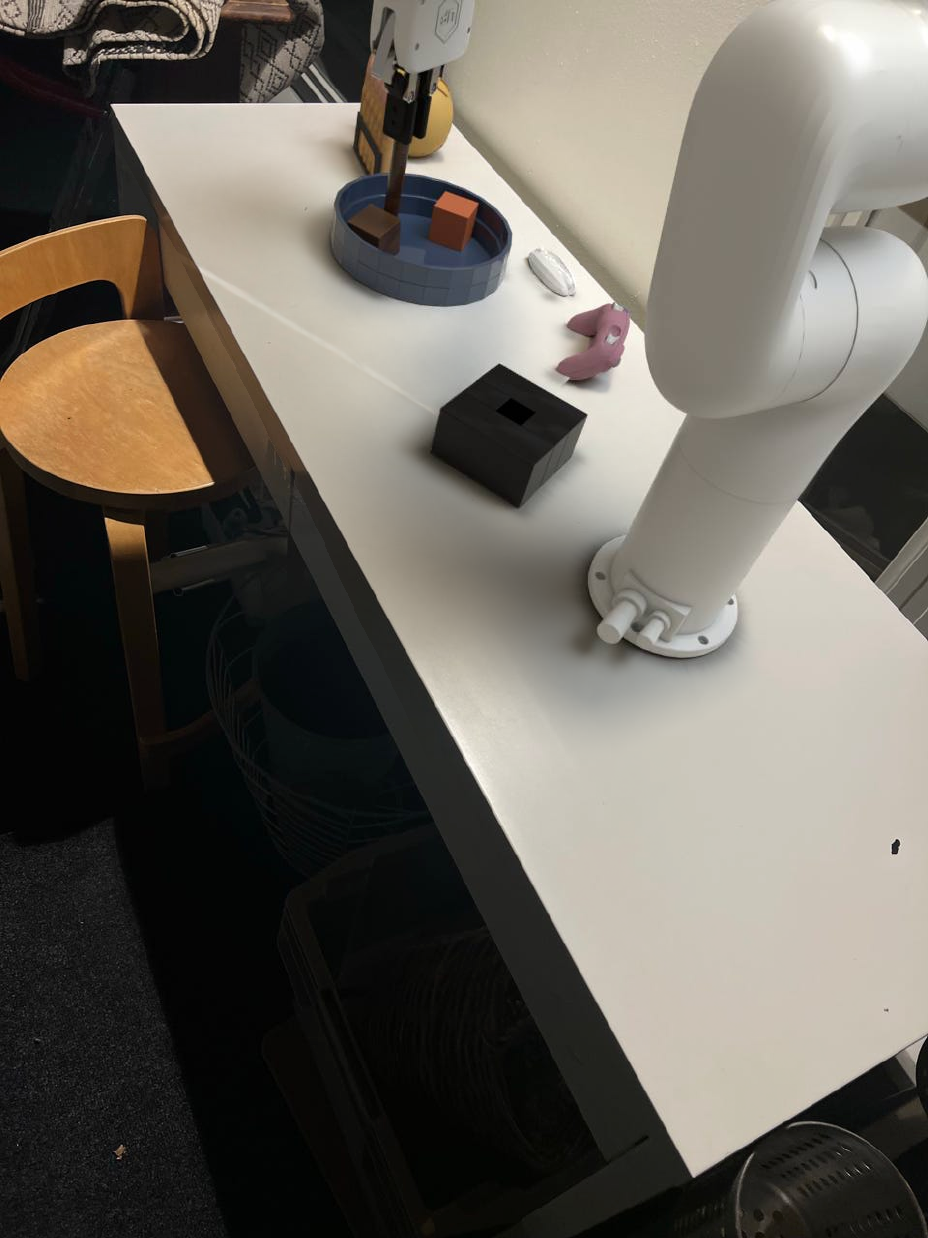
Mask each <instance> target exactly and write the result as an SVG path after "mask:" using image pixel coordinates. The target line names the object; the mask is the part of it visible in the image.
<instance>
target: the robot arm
mask: <svg viewBox="0 0 928 1238" xmlns="http://www.w3.org/2000/svg"><path fill="white" fill-rule="evenodd" d="M475 2H476V0H373V5H372V12H371V13H372V14H371V23H370V36H369V44H370V46H369V47H370V51H371V53H373V55H375V58H374V61H373V65H372V68H371V76H372V77H374V78H376V79H378V80H380V81H382V82H384V90H385V91H386V92H387V98H386V105H385V113H384V121H383V129H382V130H383V133H384V134H385V135H386V136H388V137H390V138H392V139H394V140H396V141H398V142H400V143H402V144H404V145H409V144H411V142H412V136H414V137H416V138H418V139H423V138H425V136H426V131H427V125H428V119H429V113H430V107H431V100H432V96H430V95H429V94H431V95H433V94H434V93H435V91H436V89H437V84H438V79H439V78H440V75H441V72H442V71H443V69H444V68H445V66H446V65H447V64H449V63H451V62H454V61H456V60H458V59H460V58H462V57H463V56H464V55H465V53H466V52H467V50H468V47H469V42H470V37H471V30H472V25H473V18H474V11H475V4H476V3H475ZM398 69H400V70H402V71H404V72H406V75H405V78H404V76H403V74H402V73H400V72H398ZM418 74H419V75H420V77H421V79H420V85H419V91H418V97H417V102H416V101H414V100H413V99H414V96H415V90H416V82H417V75H418ZM687 115H688V116H687V119H686V124H685V127H684V130H683V135H682V139H681V143H680V147H679V152H678V155H677V156H678V157H677V161H676V166H675V170H674V171H675V172H674V174H673V179H672V184H671V188H670V193H669V196H668V197H669V198H668V202H667V207H666V211H665V216H664V220H663V225H662V229H661V234H660V239H659V243H658V246H657V251H656V256H655V262H654V266H653V270H652V271H653V272H652V276H651V281H650V285H649V290H648V296H647V301H646V307H645V315H644V316H645V317H644V327H643V328H644V329H643V330H644V331H643V339H644V340H643V341H644V351H645V358H646V363H647V367H648V371H649V374H650V376H651V379H652V381H653V383H654V385H655V387H656V389H657V390H658V392H659V393H660V395H661V396H662V397H663V399H664V400H665V401H666V402H667V403H668V404H670V405H671V406H672V407H673V408H675V409H676V410H678V411H680V412H681V413H683V414H686V415H685V417H684V419H683V421H682V423H681V425H680V426H679V428H678V430H677V432H676V434H675V437H674V439H673V441H672V442H671V444H670V446H669V449H668V451H666V455H665V456H664V459H663V461H662V462H661V465H660V466H659V468H658V471H657V473H656V475H655V477H654V479H653V481H652V483H651V485H650V487H649V489H648V491H647V492H646V495H645V496H644V498H643V500H642V503H641V505H640V507H639V509H638V511H637V513H636V515H635V516H634V518H633V521H632V523H631V525H630V526H629V529H628V531H627V532H626V534H622V535H619V536H617V537H615V538H612V539H610V540H609V541H607V542H606V543H604V544H603V545H602V546H601V547H600V548H599V549H598V551H597V552H596V553H595V555H594V557H593V559H592V561H591V563H590V566H589V569H588V573H587V587H588V592H589V596H590V598H591V601H592V603H593V605H594V607H595V609H596V610H597V612H598V614H599V615H600V616H601V618H602V620H601V621H600V623H598V626H597V628H596V633H597V635H598V637H599V638H600V639H601V641H603V642H604V643H607V644H610V645H615V644H618V642H620V641H621V639H622V638H623V639H625V640H626V641H628V642H630V643H631V644H633V645H635V646H637V647H639V648H640V649H642V650H644V651H648V652H651V653H652V654H653V653H654V654H657V655H662V656H665V657H670V658H680V659H682V658H684V659H685V658H696V657H700V656H704V655H707V654H709V653H711V652H713V651H715V650H717V649H719V648H720V647H721V646H722V645H723V644H724V643H725V642H726V641H727V639H729V638H730V637H729V636H730V635H731V634H732V633H733V631H734V628H735V626H736V624H737V623H738V615H739V608H738V607H739V606H738V600H737V597H736V591H737V590H738V588H739V587H740V586H741V584H742V582H743V581H744V580H745V579H746V576H747V575H748V573H749V572H750V571H751V569H752V568H753V566H754V565H755V564H756V562H757V560H758V559H759V558H760V556H761V554H762V553H763V552H764V550H765V549H766V547H767V546H768V544H769V543H770V541H771V540H772V538H773V537H774V535H775V534H776V532H777V530H778V529H779V528H780V526H781V525H782V523H783V522H784V521H785V519H786V518H787V516H788V515H789V513H790V511H791V510H792V509H793V507H794V506H795V504H796V503H797V502H798V500H799V498H800V497H801V495H802V494H803V493H804V491H805V490H806V489H807V487H808V486H809V484H810V483H811V482H812V480H813V478H814V477H815V476H816V474H817V473H818V471H819V469H820V468H821V467H822V465H823V464H824V463H825V461H826V460H827V458H828V457H829V456H830V454H831V453H832V452H833V450H834V449H835V448H836V446H837V445H838V443H839V442H840V441H841V440H842V439H843V438H844V436H845V435H846V434H847V432H848V431H849V430H850V429H851V428H852V427H853V426H854V424H855V423H856V422H857V421H858V420H859V419H860V418H861V417H862V416H863V414H864V413H865V412H866V411H868V409H869V408H870V407H871V405H873V404H874V403H875V401H877V399H878V398H879V397H880V396H881V395H882V394H883V393H884V392H885V390H887V389H888V387H889V386H890V385H891V384H892V383H893V382H894V380H896V378H897V377H898V375H900V373H901V372H902V371H903V370H904V368H905V366H906V365H907V363H908V362H909V360H910V359H911V358H912V356H913V355H914V353H915V351H916V349H917V347H918V345H919V343H920V341H921V339H922V337H923V335H924V332H925V329H926V325H927V322H928V274H927V272H926V269H925V267H924V264H923V263H922V261H921V259H920V257H919V256H918V255H917V254H916V252H915V251H914V250H913V248H912V247H910V245H908V244H907V243H906V242H905V241H904V240H902V239H900V238H899V237H897V236H896V235H894V234H892V233H889V232H887V231H885V230H882V229H878V228H874V227H868V226H862V225H833V226H831V225H830V226H826V222H827V220H828V217H829V216H830V215H839V214H848V213H849V214H850V213H858V212H867V211H875V210H876V211H877V210H882V209H884V210H885V209H889V208H895V207H901V206H904V205H907V204H911V203H915V202H919V201H921V200H924V199H926V198H928V0H774V1H771V2H770V3H768V4H765V5H763V6H762V7H760V8H758V9H757V10H755V11H754V12H752V13H751V14H749V15H748V16H746V18H745V19H744V20H742V21H741V22H740V23H739V24H738V25H737V26H736V27H735V28H734V29H733V30H732V31H731V32H730V33H729V35H728V36H727V37H726V39H724V41H723V42H722V43H721V45H720V46H719V48H717V51H716V52H715V54H713V57H712V58H711V61H710V62H709V64H708V65H707V68H706V70H705V71H704V73H703V75H702V77H701V78H700V81H699V84H698V86H697V89H696V91H695V93H694V96H693V98H692V102H691V105H690V109H689V111H688V114H687Z"/></svg>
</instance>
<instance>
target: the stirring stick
mask: <svg viewBox="0 0 928 1238" xmlns="http://www.w3.org/2000/svg"><path fill="white" fill-rule="evenodd" d="M405 75H406V72H405V73H404V78H405ZM420 79H421V77H420V75H419V74H418V75H417V82H416V90H415V96H414V99H413V100H414V101H416V102H417V97H418V91H419V85H420ZM409 146H410V144H409V145H404V144H402V143H400V142H398V141H396V140H394V143H393V150H392V156H391V163H390V170H389V176H388V183H387V190H386V196H385V203H384V211H386V212H388V213H390V214H392V215H394V216H396V217H397V218H398V213H399V207H400V201H401V195H402V189H403V183H404V177H405V173H406V170H407V164H408V157H409V156H408V152H409Z"/></svg>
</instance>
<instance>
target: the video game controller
mask: <svg viewBox="0 0 928 1238" xmlns="http://www.w3.org/2000/svg"><path fill="white" fill-rule="evenodd" d="M630 323H631V314H630V313H629V311H628V310H627V309H626V308H624V307H623V306H622V305H617V303H616V301H614V302H612V303H605V304H603V305H600V306H599V307H596V308H594V309H591V310H587V311H583V312H580V313H577V314H576V315H574V316H572V317H571V318H570V319H569V320H568V322H567V324H566V327H567V329H570V330H571V331H574V332H576V333H579V334H580V335H583V336H589V337H591V336H593V338H591V340H590V341H589V342H588V343H589V344H588V348H587V350H585V351H581V352H579V353H577V354H573V355H571V356H567V357H565V358H564V359H562V360H561V361H560V362H559V363H558V364H557V367H556V371H557V372H558V373H560V374H561V375H564V376H566V377H569V378H568V380H569V381H581V380H585V379H588V378H591V377H593V376H597V375H599V374H601V373H602V374H603V373H606V372H608V371H610V370H611V369H615V368H617V367H618V366H620V364H621V362H622V356H623V354H624V352H625V349H626V347H625V341H626V340H627V336H628V334H629V328H630V325H631V324H630Z"/></svg>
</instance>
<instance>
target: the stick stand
mask: <svg viewBox="0 0 928 1238" xmlns="http://www.w3.org/2000/svg"><path fill="white" fill-rule="evenodd" d="M588 416H589V414H588V413H586V412H585V411H583V410H581V409H579V408H577V407H576V406H574V405H572V404H570V403H569V402H568V401H566V400H564V399H562V398H560V397H559V396H557V395H555V394H554V393H552V392H550V391H548V390H547V389H545V388H543V387H541V386H540V385H538V384H537V383H535V382H533V381H531V380H529V379H528V378H526V377H524V376H523V375H522V374H519V373H517V372H516V371H514V370H512V369H511V368H508V367H507V366H505V365H504V364H501V363H500V362H498V363H497V364H496V365H495V366H493V367H492V368H491V369H489V370H488V371H487V372H485V373H484V374H483V375H481V376H480V377H479V378H477V379H476V380H475V381H474V382H472V383H471V384H470V385H468V386H467V387H466V388H464V389H463V390H462V391H461V392H459V393H458V394H456V396H454V397H453V398H452V399H451V400H449V401H448V402H447V403H445V404H444V405H443V406H441V407H440V408H439V412H438V416H437V421H436V424H435V430H434V434H433V438H432V442H431V447H430V450H429V453H430V454H431V455H432V456H435V458H438V459H439V460H440V461H442V462H444V463H445V464H447V465H449V466H450V467H452V468H454V469H456V470H457V471H458V472H460V473H462V474H463V475H465V476H466V477H468V478H470V479H471V480H473V481H475V482H476V483H478V484H480V485H481V486H483V487H484V488H486V489H488V490H489V491H491V492H493V493H494V494H496V495H497V496H499V497H500V498H502V499H504V500H506V501H507V502H509V503H510V504H512V505H513V506H515V507H516V508H518V509H519V508H521V507H522V506H523V505H524V504H525V503H526V502H527V501H528V500H529V499H530V498H531V497H532V496H533V495H534V494H535V493H536V492H537V491H538V490H539V489H540V488H541V487H542V486H544V484H545V483H547V482H548V481H549V480H550V478H551V477H553V476H554V475H555V474H556V473H557V471H559V469H561V468H562V467H563V466H564V465H565V464H566V463H567V462H568V461H569V460H570V459H571V458H572V457H573V454H574V452H575V449H576V446H577V444H578V441H579V439H580V436H581V433H582V431H583V428H584V427H585V426H584V425H585V423H586V420H587V419H588Z"/></svg>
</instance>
